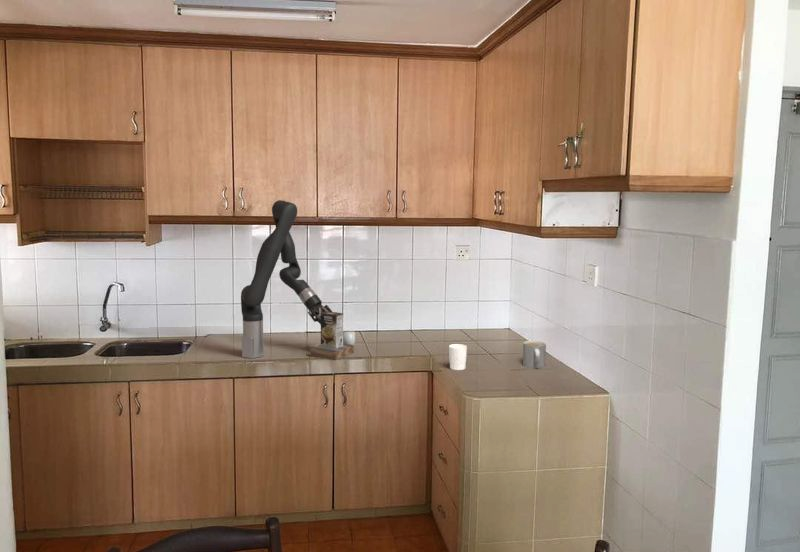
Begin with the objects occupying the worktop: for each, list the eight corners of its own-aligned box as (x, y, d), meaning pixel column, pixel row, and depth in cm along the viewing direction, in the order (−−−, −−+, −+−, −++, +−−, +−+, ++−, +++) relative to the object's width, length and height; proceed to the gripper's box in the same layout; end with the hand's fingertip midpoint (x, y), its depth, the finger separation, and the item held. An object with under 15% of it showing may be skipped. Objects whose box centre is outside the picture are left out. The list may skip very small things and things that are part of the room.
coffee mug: (523, 361, 298) (523, 340, 297) (545, 362, 296) (545, 341, 294) (522, 369, 285) (522, 347, 284) (545, 370, 283) (546, 348, 282)
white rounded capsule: (351, 350, 317) (351, 334, 316) (340, 348, 319) (340, 332, 318) (357, 347, 322) (357, 331, 321) (347, 346, 325) (347, 330, 324)
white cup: (445, 366, 288) (445, 344, 286) (461, 365, 291) (461, 343, 289) (454, 371, 280) (454, 348, 279) (469, 369, 284) (470, 347, 282)
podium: (335, 360, 297) (335, 351, 297) (310, 356, 304) (310, 348, 303) (353, 352, 311) (353, 344, 311) (329, 349, 318) (329, 341, 317)
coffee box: (320, 346, 306) (319, 313, 304) (327, 343, 312) (327, 310, 310) (336, 348, 302) (336, 314, 300) (343, 345, 308) (343, 312, 306)
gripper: (305, 296, 302) (326, 322, 298) (323, 292, 315) (343, 317, 311) (296, 306, 305) (317, 332, 301) (314, 302, 318) (333, 327, 314)
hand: (330, 325), depth 306 cm, fingers open, 8 cm apart
